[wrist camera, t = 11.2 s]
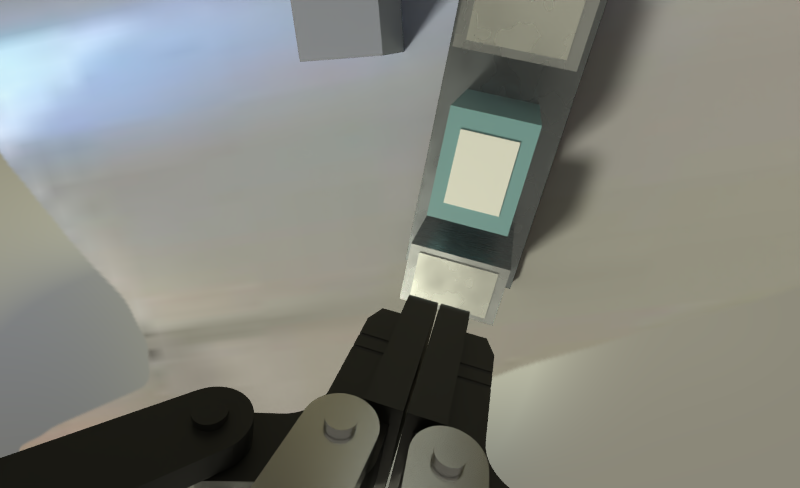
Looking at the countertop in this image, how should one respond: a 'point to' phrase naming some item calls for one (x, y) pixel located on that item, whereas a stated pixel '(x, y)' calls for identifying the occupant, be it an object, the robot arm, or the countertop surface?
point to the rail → (554, 91)
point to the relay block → (347, 28)
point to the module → (484, 160)
